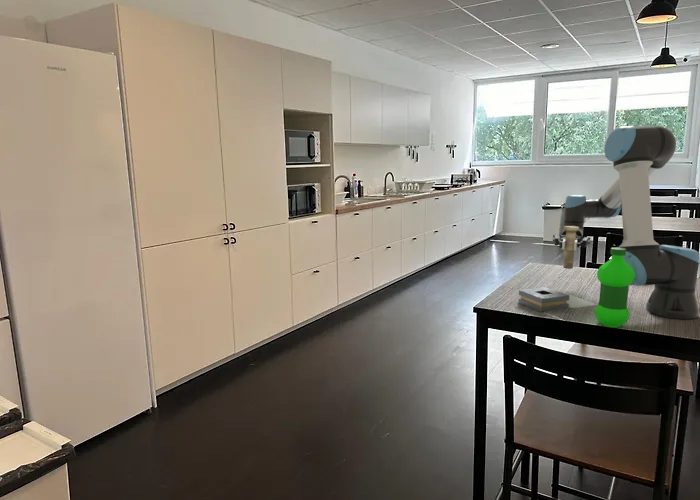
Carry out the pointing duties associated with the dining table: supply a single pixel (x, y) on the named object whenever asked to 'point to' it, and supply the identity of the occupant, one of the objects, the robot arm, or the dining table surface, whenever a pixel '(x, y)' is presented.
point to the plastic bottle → (614, 289)
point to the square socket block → (543, 299)
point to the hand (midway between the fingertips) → (569, 246)
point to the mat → (578, 302)
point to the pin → (569, 246)
